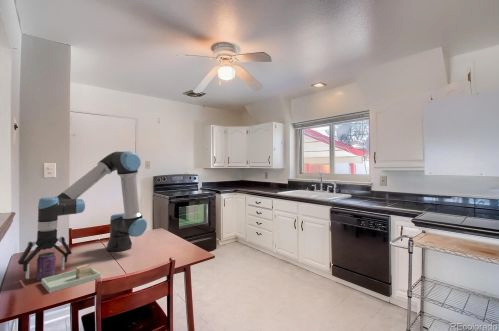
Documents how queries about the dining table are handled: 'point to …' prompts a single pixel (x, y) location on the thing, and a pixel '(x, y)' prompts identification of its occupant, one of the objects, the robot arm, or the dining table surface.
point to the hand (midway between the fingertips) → (45, 273)
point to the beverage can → (45, 265)
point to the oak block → (83, 271)
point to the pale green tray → (66, 280)
